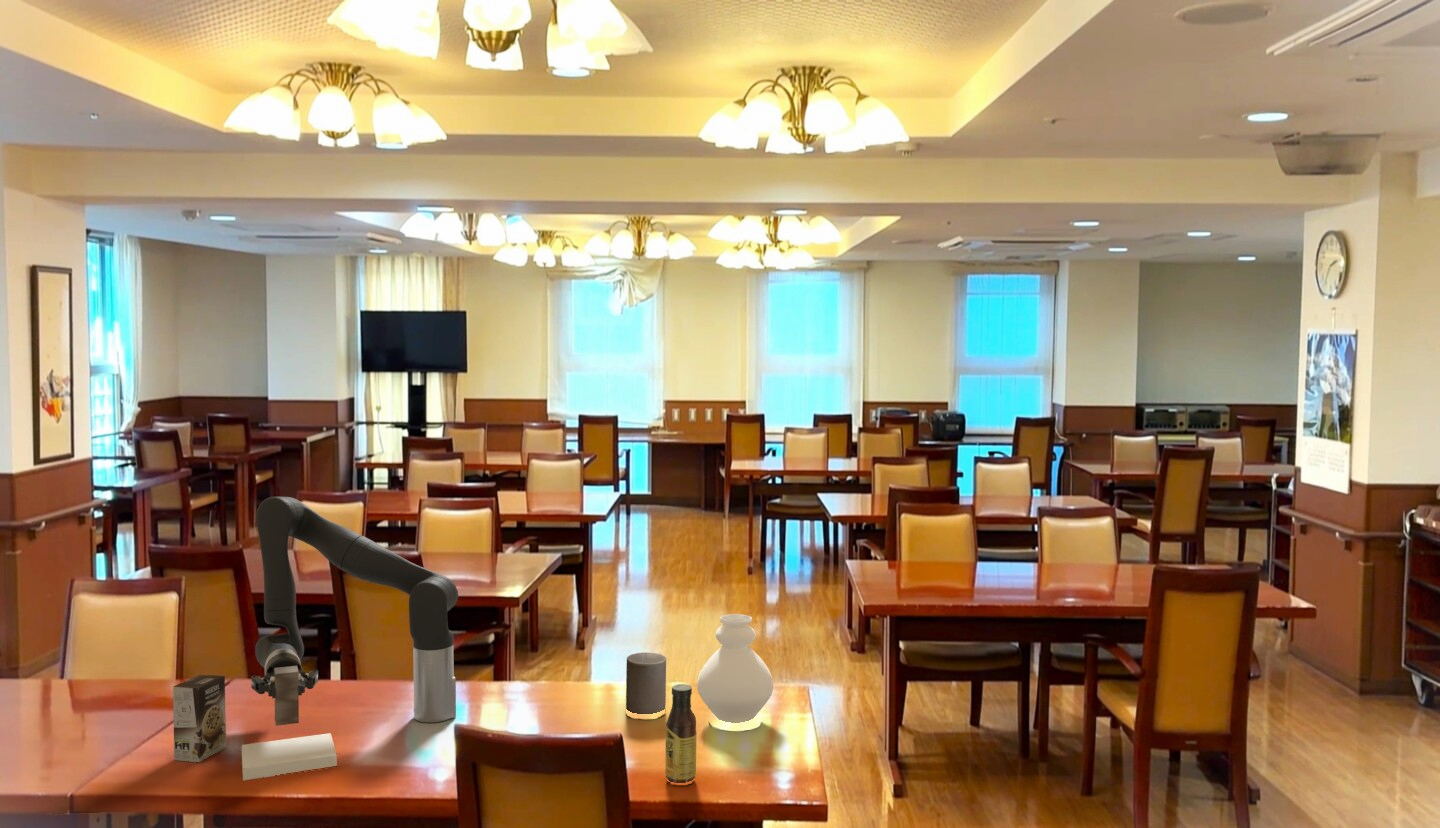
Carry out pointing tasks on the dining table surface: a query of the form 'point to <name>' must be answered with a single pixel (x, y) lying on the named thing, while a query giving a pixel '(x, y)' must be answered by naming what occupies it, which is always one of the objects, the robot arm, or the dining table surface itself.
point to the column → (286, 695)
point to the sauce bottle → (681, 737)
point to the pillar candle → (646, 683)
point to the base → (287, 756)
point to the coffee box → (199, 718)
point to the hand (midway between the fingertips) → (287, 692)
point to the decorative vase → (735, 673)
